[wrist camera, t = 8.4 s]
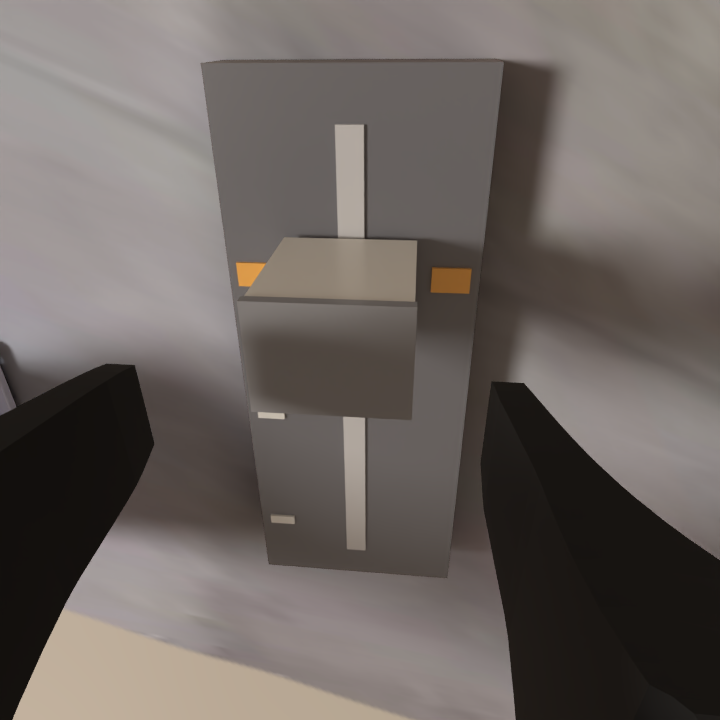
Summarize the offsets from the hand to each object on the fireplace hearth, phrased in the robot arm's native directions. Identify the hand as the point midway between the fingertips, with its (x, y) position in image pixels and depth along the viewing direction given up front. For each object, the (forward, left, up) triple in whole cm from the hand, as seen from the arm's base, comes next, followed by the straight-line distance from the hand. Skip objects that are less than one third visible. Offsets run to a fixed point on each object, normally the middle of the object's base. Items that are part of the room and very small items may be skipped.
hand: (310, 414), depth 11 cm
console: (-4, 0, -9) cm, 10 cm away
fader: (0, 0, -7) cm, 7 cm away
